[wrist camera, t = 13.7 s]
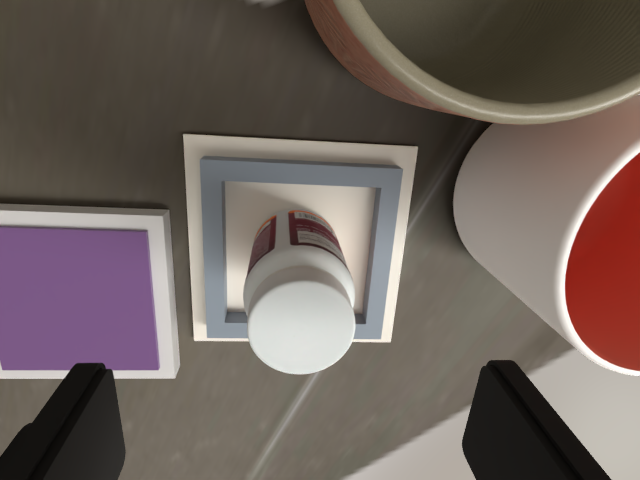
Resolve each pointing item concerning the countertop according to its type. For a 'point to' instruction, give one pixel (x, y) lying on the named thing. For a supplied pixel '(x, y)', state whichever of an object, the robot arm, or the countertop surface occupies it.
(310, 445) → the countertop surface
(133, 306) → the ink pad
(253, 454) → the countertop surface
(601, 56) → the planter
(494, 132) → the cup
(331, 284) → the pill bottle
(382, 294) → the square tray
